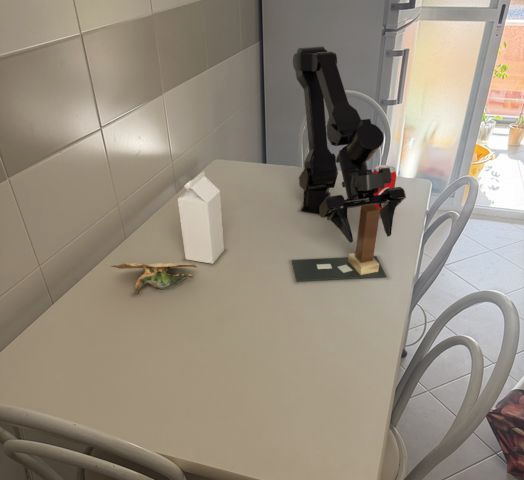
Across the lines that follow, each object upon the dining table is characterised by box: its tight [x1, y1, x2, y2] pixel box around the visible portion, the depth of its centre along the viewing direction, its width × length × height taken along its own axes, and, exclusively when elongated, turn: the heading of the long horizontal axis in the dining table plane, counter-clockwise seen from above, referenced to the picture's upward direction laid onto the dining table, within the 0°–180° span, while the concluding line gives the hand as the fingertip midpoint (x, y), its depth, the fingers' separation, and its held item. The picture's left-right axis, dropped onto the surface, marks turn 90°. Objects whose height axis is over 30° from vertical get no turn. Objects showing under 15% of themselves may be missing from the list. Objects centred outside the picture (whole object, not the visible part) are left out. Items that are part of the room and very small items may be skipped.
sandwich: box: [110, 262, 198, 295], centre depth 106 cm, size 18×14×8 cm
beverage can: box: [372, 164, 397, 217], centre depth 131 cm, size 6×6×12 cm
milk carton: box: [177, 170, 225, 265], centre depth 112 cm, size 7×7×19 cm
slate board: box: [291, 255, 387, 283], centre depth 112 cm, size 20×9×1 cm, turn 94°
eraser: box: [348, 205, 380, 275], centre depth 107 cm, size 6×4×14 cm
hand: (370, 239), depth 109 cm, fingers open, 9 cm apart
